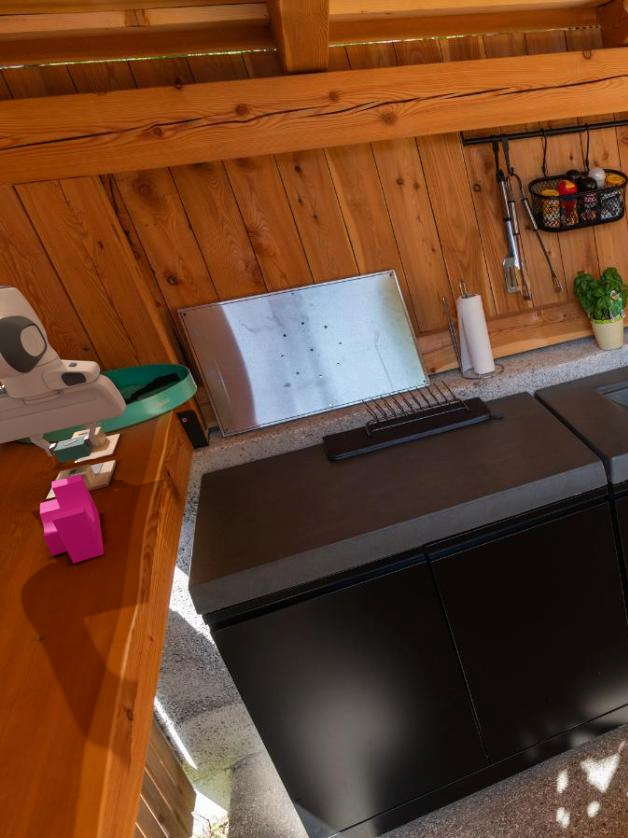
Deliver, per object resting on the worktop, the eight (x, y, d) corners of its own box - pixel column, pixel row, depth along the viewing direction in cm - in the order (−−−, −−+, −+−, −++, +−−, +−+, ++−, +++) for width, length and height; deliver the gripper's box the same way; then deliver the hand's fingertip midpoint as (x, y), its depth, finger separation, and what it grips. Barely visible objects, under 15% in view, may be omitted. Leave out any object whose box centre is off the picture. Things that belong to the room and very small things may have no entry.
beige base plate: (47, 501, 132) (38, 486, 131) (60, 476, 141) (51, 461, 139) (108, 486, 135) (99, 470, 134) (116, 462, 144) (109, 447, 143)
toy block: (52, 527, 122) (31, 486, 119) (99, 514, 126) (80, 474, 122) (52, 569, 112) (30, 526, 108) (103, 554, 115) (83, 511, 111)
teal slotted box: (60, 463, 136) (52, 450, 135) (65, 453, 139) (58, 441, 138) (89, 456, 137) (82, 443, 136) (93, 446, 141) (87, 434, 140)
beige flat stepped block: (57, 469, 144) (49, 454, 142) (68, 448, 152) (61, 434, 151) (113, 456, 147) (106, 441, 145) (121, 436, 156) (114, 422, 154)
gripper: (-45, 400, 125) (0, 473, 131) (101, 370, 132) (136, 440, 139) (-33, 388, 130) (9, 459, 137) (107, 360, 137) (140, 428, 144)
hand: (74, 449), depth 138 cm, fingers closed on teal slotted box, 4 cm apart
